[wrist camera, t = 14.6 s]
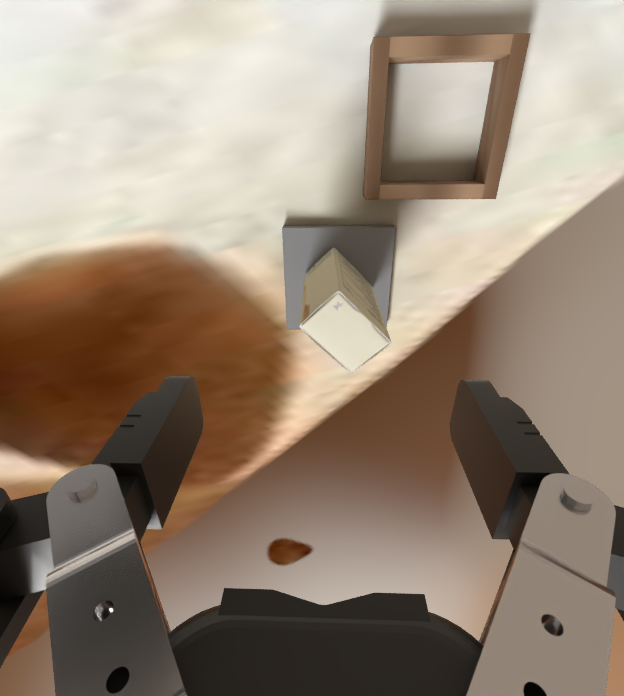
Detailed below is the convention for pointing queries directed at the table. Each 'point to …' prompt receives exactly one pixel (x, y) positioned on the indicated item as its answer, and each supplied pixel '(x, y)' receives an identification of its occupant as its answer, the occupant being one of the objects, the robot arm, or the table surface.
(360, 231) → the rubber mat
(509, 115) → the pocket holder
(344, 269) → the skincare box
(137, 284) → the table surface
